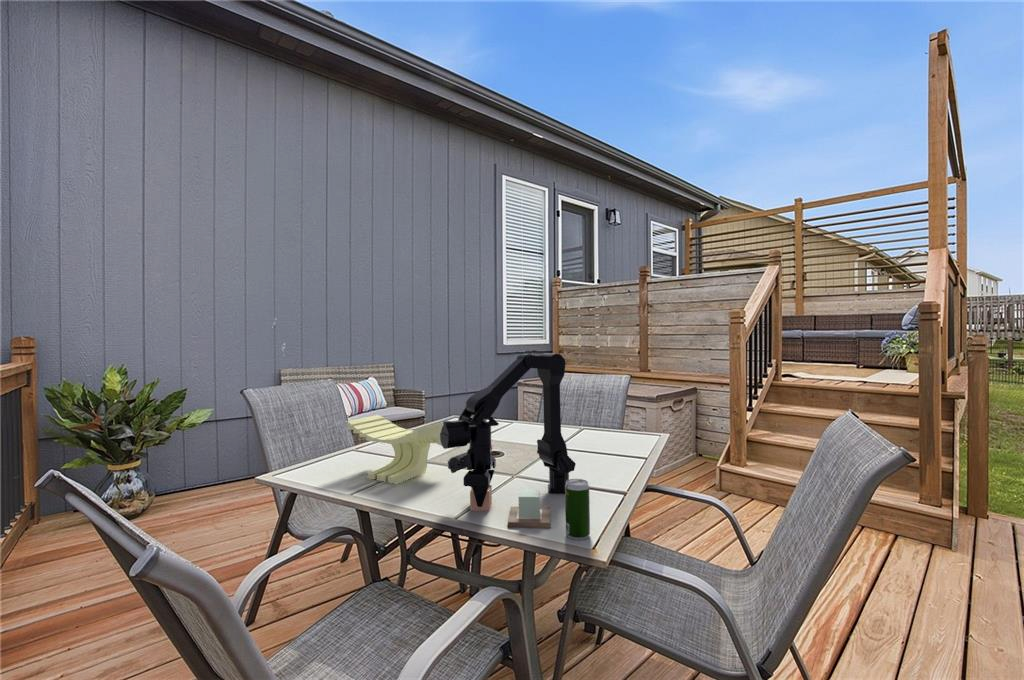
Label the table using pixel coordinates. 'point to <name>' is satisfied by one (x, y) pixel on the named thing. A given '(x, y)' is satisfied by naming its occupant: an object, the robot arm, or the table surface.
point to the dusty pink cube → (486, 502)
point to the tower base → (529, 519)
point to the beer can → (577, 509)
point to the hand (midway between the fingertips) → (481, 502)
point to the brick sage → (529, 504)
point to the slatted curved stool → (398, 446)
